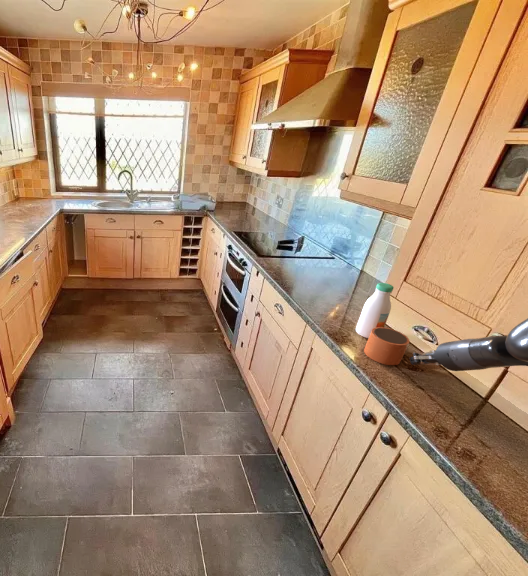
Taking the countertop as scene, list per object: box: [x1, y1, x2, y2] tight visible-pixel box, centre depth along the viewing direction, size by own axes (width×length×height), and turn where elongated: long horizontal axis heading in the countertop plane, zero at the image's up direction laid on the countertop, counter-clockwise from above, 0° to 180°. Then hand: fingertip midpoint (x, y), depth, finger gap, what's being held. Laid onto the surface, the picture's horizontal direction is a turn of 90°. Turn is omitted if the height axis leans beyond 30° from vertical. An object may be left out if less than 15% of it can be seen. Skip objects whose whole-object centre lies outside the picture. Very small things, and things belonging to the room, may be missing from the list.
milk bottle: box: [355, 282, 394, 339], centre depth 109 cm, size 8×8×20 cm
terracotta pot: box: [363, 326, 410, 366], centre depth 101 cm, size 10×10×8 cm
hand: (412, 360), depth 94 cm, fingers closed
